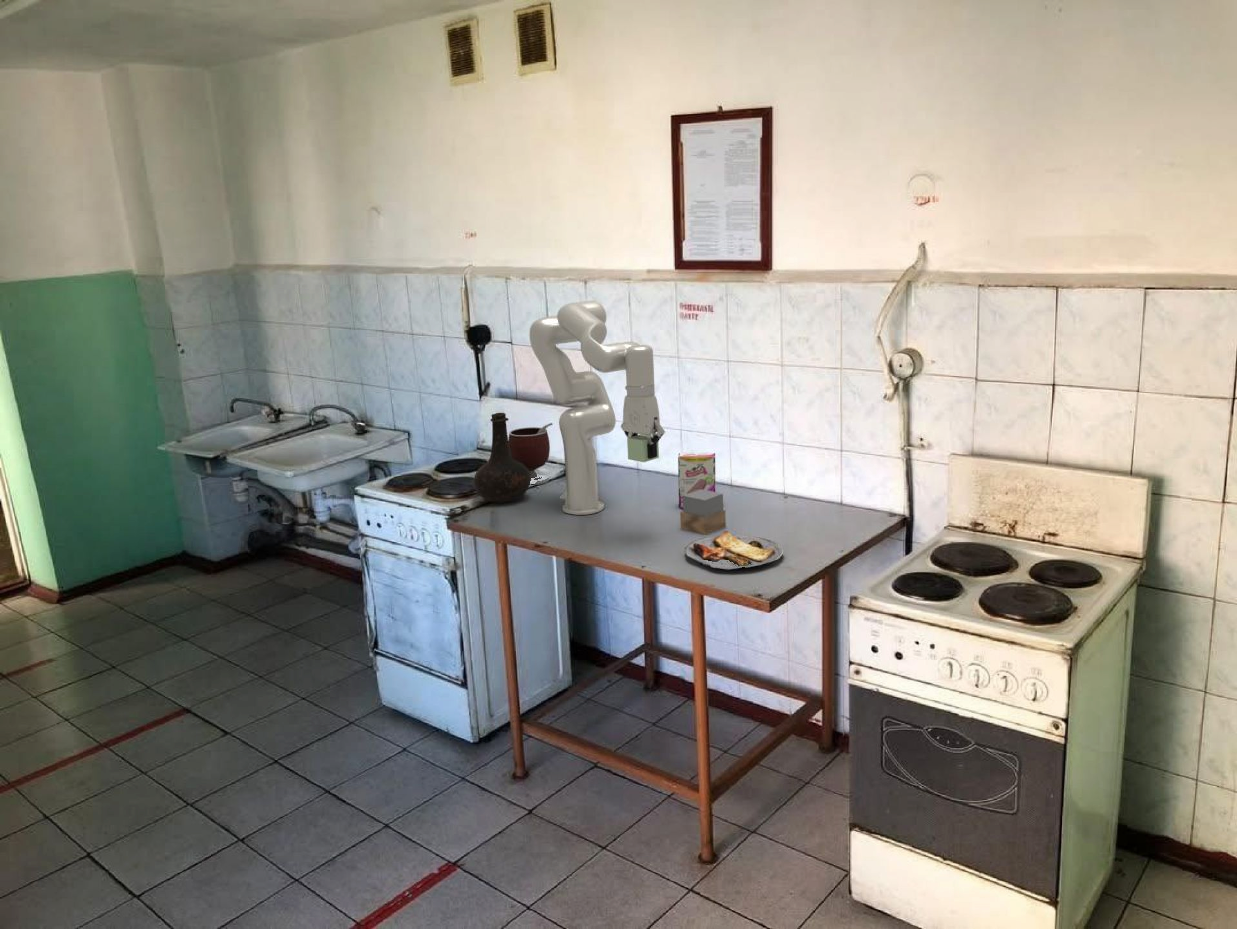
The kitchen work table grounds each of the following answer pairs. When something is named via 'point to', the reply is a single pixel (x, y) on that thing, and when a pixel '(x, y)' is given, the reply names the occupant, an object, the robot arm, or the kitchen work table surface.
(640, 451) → the green cube
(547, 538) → the kitchen work table surface
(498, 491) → the glass bottle
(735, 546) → the food plate
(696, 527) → the walnut base block
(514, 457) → the mate gourd
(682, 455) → the candy bar box
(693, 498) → the gray middle block
